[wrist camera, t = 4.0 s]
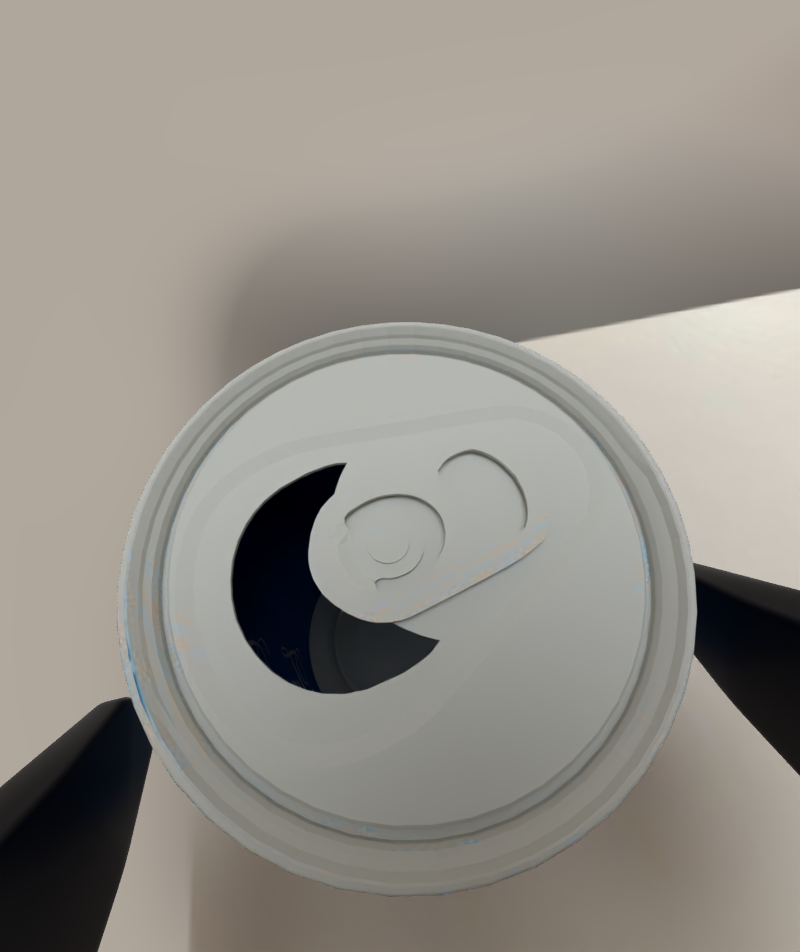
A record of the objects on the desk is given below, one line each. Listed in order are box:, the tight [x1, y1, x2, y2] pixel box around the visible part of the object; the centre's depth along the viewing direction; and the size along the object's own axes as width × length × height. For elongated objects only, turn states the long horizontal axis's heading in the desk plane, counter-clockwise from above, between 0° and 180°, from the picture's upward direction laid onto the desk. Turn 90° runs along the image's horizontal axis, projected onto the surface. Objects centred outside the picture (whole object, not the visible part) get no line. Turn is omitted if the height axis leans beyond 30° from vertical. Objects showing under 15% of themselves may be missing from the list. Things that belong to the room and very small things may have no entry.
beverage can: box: [117, 322, 697, 897], centre depth 10 cm, size 6×6×12 cm
